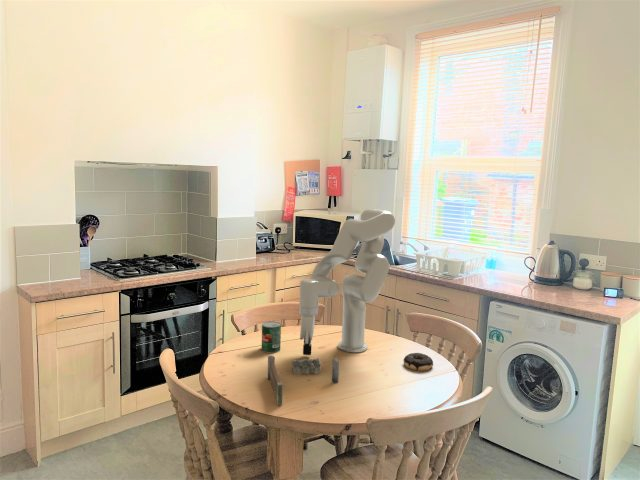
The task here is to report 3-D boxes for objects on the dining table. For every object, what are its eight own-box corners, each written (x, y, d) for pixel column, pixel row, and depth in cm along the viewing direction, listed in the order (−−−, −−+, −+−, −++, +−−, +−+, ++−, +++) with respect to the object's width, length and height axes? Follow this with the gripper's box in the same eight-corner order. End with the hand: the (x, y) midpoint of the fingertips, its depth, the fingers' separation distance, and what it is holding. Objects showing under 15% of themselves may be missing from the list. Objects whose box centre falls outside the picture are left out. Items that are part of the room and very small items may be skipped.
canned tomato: (257, 351, 210) (258, 325, 208) (267, 345, 217) (267, 320, 216) (275, 354, 207) (275, 328, 205) (283, 348, 214) (284, 322, 213)
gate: (273, 379, 182) (274, 360, 181) (282, 404, 163) (282, 384, 162) (269, 379, 182) (269, 361, 181) (277, 405, 162) (277, 384, 161)
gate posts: (268, 377, 185) (268, 355, 183) (338, 380, 184) (339, 359, 182) (267, 379, 182) (267, 358, 181) (338, 383, 181) (339, 361, 180)
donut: (398, 366, 199) (399, 357, 198) (412, 358, 208) (413, 349, 208) (424, 374, 192) (425, 364, 192) (438, 365, 202) (438, 355, 201)
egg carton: (292, 375, 188) (292, 364, 187) (291, 367, 195) (291, 357, 194) (321, 374, 189) (321, 364, 188) (319, 366, 196) (319, 356, 196)
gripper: (300, 304, 211) (299, 347, 213) (297, 315, 196) (296, 360, 198) (319, 305, 210) (317, 348, 213) (317, 316, 195) (315, 361, 198)
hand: (307, 354), depth 206 cm, fingers closed
